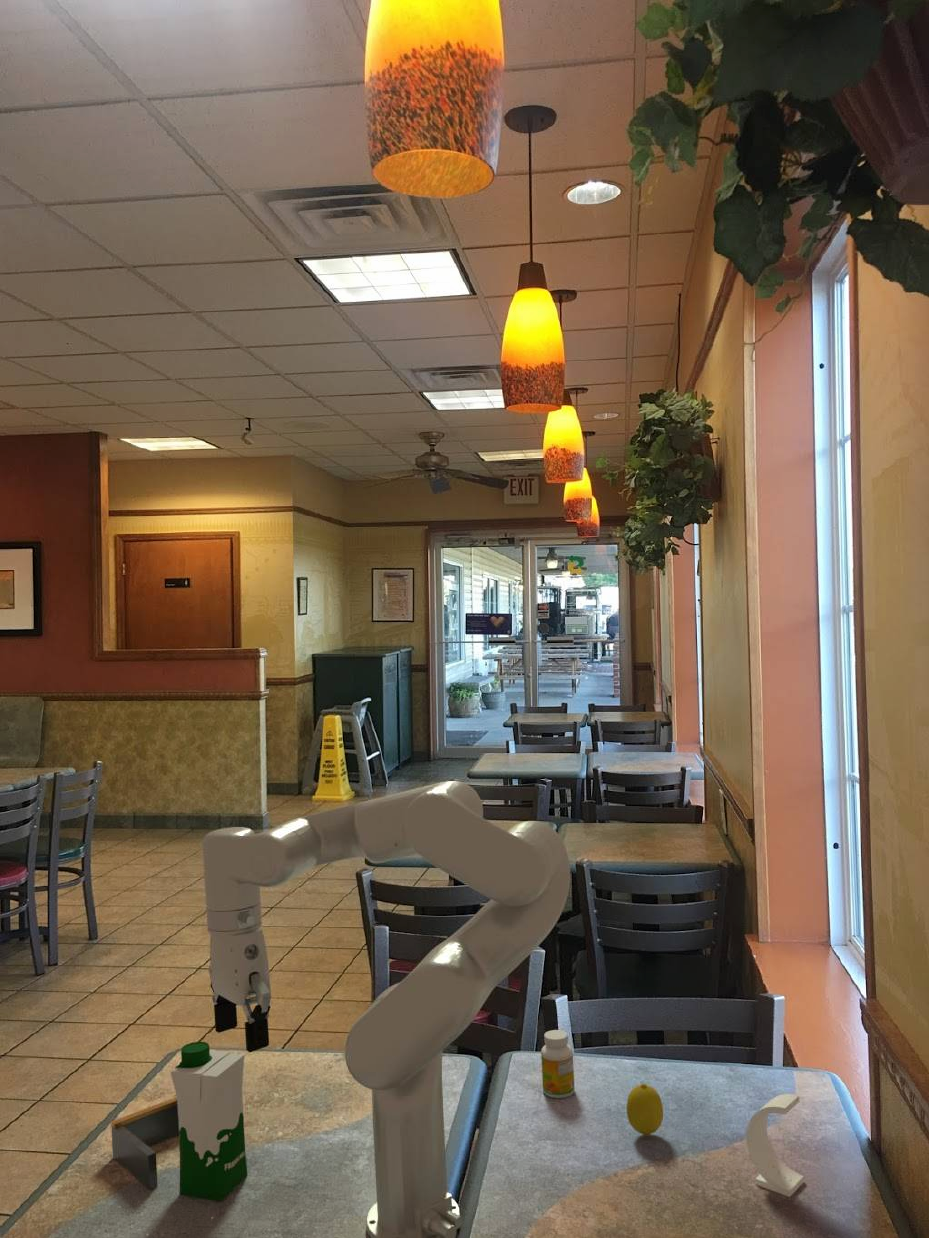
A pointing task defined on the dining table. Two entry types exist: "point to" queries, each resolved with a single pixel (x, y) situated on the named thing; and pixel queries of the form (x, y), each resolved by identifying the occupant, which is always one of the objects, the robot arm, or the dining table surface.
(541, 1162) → the dining table surface
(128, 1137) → the bracket
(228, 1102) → the soya milk
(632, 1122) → the lemon
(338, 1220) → the dining table surface
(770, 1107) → the headphone stand
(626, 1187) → the dining table surface
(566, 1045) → the supplement bottle
